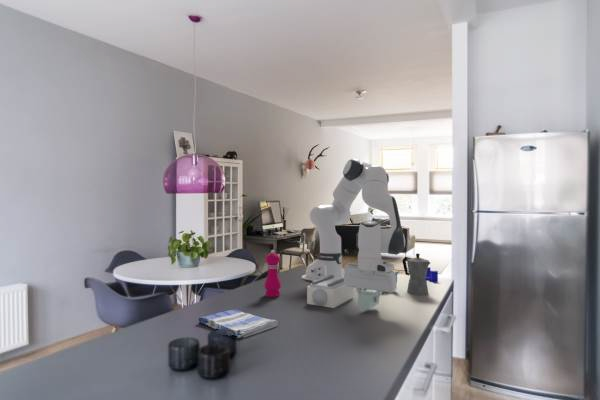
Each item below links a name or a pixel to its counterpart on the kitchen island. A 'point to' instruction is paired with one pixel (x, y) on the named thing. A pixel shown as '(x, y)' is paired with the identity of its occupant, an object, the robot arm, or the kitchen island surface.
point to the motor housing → (328, 292)
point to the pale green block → (367, 299)
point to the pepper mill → (272, 275)
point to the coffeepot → (416, 275)
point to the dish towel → (238, 322)
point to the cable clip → (432, 275)
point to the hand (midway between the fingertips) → (369, 300)
